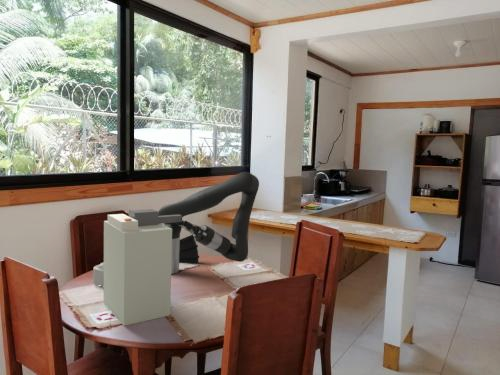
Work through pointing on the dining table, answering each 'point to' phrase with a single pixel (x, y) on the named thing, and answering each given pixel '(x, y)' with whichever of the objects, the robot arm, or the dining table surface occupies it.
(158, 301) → the pale grey tall block
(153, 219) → the block
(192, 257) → the black ridged fan wedge
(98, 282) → the lumpy-topped squat cylinder
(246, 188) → the robot arm
